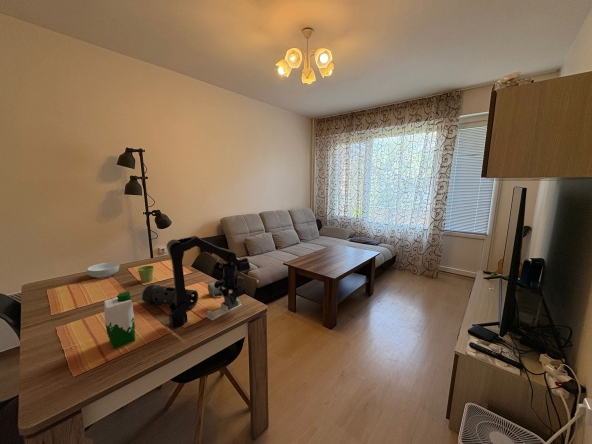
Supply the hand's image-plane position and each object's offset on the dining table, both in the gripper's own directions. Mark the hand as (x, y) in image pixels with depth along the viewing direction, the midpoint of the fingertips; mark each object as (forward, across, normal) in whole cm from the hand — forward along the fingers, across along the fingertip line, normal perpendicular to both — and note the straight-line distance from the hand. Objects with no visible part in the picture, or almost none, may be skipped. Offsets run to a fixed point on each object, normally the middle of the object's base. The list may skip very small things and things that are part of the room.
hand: (230, 302), depth 121 cm
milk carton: (+3, +15, +43) cm, 45 cm away
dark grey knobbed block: (+2, 0, 0) cm, 2 cm away
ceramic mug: (+3, +17, -5) cm, 18 cm away
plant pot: (+3, +70, +12) cm, 71 cm away
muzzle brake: (+3, +27, +18) cm, 33 cm away
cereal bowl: (+3, +100, +26) cm, 103 cm away
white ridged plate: (+3, 0, +4) cm, 5 cm away
